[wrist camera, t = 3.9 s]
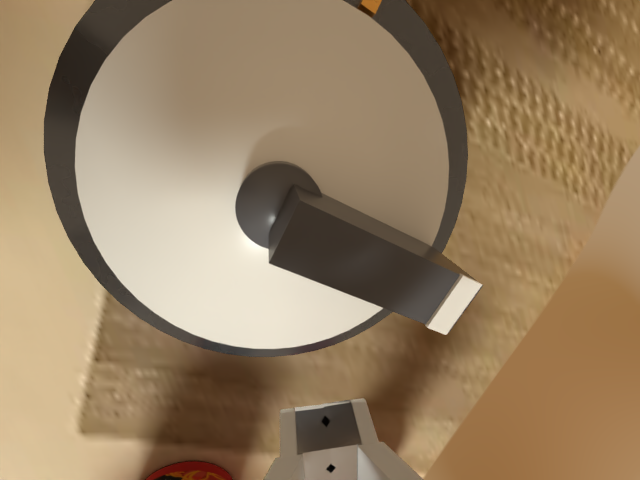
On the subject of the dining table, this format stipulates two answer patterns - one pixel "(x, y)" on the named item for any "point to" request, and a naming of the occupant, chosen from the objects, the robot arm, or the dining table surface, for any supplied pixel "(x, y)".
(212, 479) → the canned food
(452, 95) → the dial housing
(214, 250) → the dial
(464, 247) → the dining table surface
